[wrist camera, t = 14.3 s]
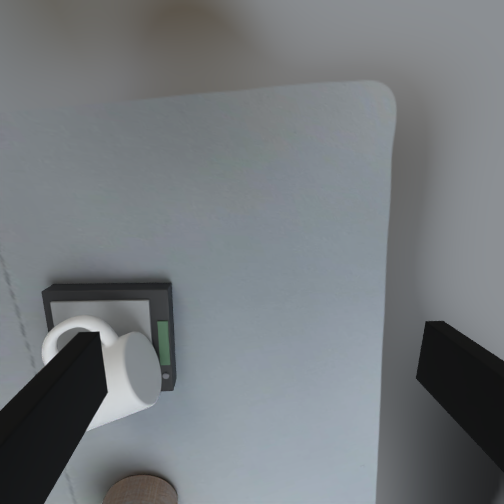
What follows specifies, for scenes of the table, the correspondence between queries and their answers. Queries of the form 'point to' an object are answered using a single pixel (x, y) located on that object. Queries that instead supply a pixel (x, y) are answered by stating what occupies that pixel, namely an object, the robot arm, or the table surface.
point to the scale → (119, 315)
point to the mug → (117, 368)
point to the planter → (141, 491)
